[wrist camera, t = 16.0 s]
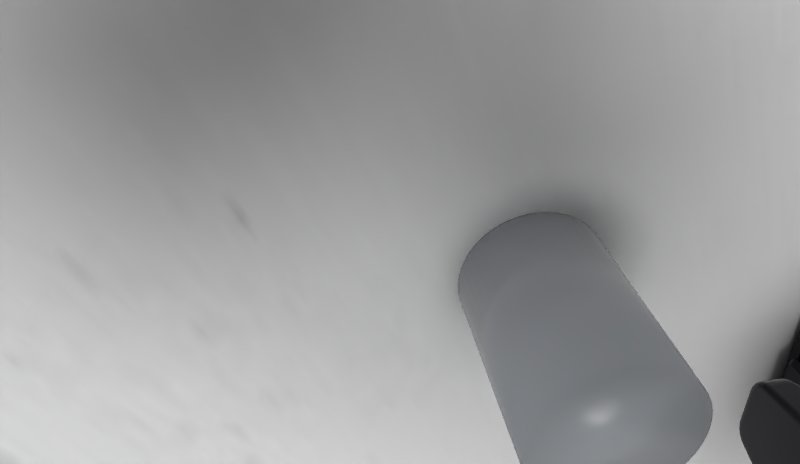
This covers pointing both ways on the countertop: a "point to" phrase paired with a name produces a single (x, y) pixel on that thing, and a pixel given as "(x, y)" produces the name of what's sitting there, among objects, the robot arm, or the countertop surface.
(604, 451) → the grey cylinder
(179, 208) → the countertop surface
